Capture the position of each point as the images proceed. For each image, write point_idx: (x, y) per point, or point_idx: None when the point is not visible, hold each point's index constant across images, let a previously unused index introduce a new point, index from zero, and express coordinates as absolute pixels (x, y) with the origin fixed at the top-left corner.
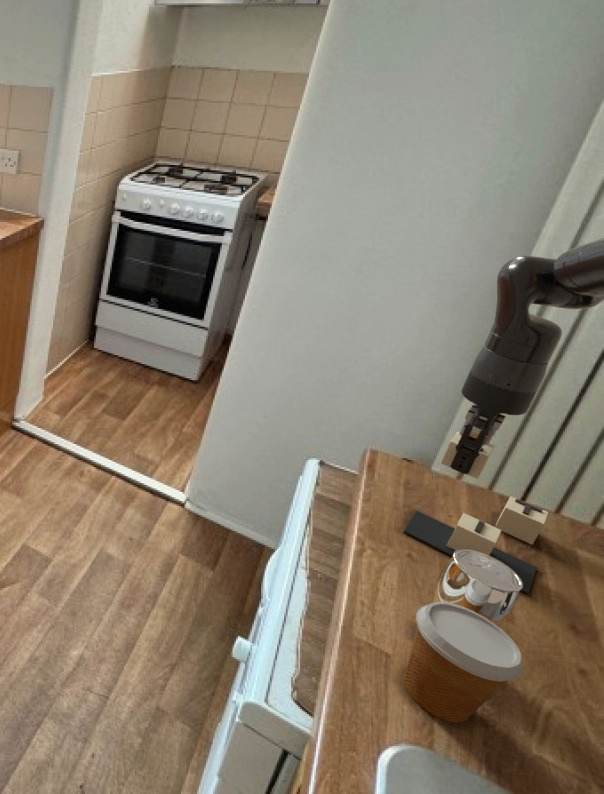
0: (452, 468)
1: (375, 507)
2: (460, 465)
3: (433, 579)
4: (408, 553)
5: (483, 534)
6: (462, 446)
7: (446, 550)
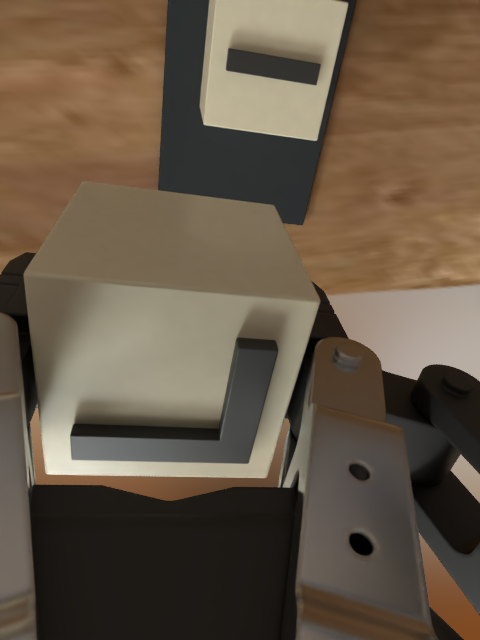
0: None
1: None
2: None
3: (474, 137)
4: (392, 200)
5: (313, 50)
6: (442, 483)
7: None
